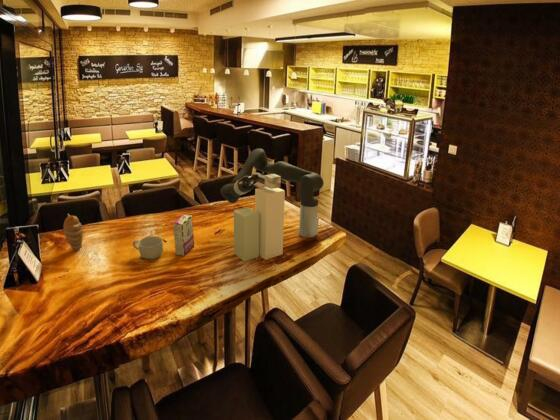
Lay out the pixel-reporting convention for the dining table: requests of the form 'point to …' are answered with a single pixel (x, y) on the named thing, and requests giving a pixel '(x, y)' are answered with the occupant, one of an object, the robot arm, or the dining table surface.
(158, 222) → the dining table surface
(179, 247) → the candy bar box
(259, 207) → the tall stand
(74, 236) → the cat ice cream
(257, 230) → the grey green tall block
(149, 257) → the teacup
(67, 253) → the dining table surface
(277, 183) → the handle
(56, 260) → the dining table surface
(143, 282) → the dining table surface
